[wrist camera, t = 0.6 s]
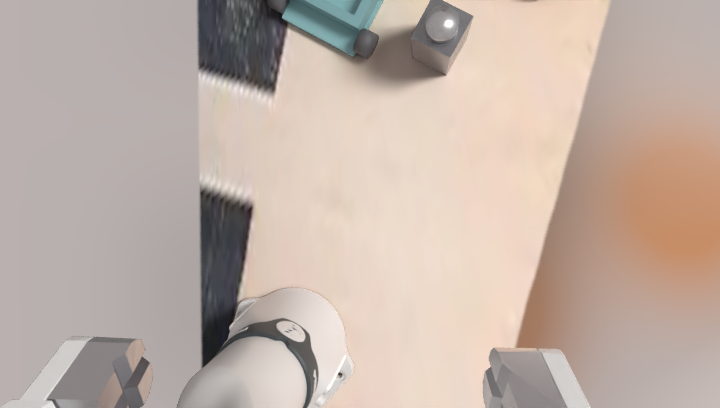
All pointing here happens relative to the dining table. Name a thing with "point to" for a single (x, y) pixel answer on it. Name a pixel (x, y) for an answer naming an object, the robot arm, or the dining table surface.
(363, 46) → the chassis
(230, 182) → the dining table surface
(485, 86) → the dining table surface
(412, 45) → the metal toy brick
